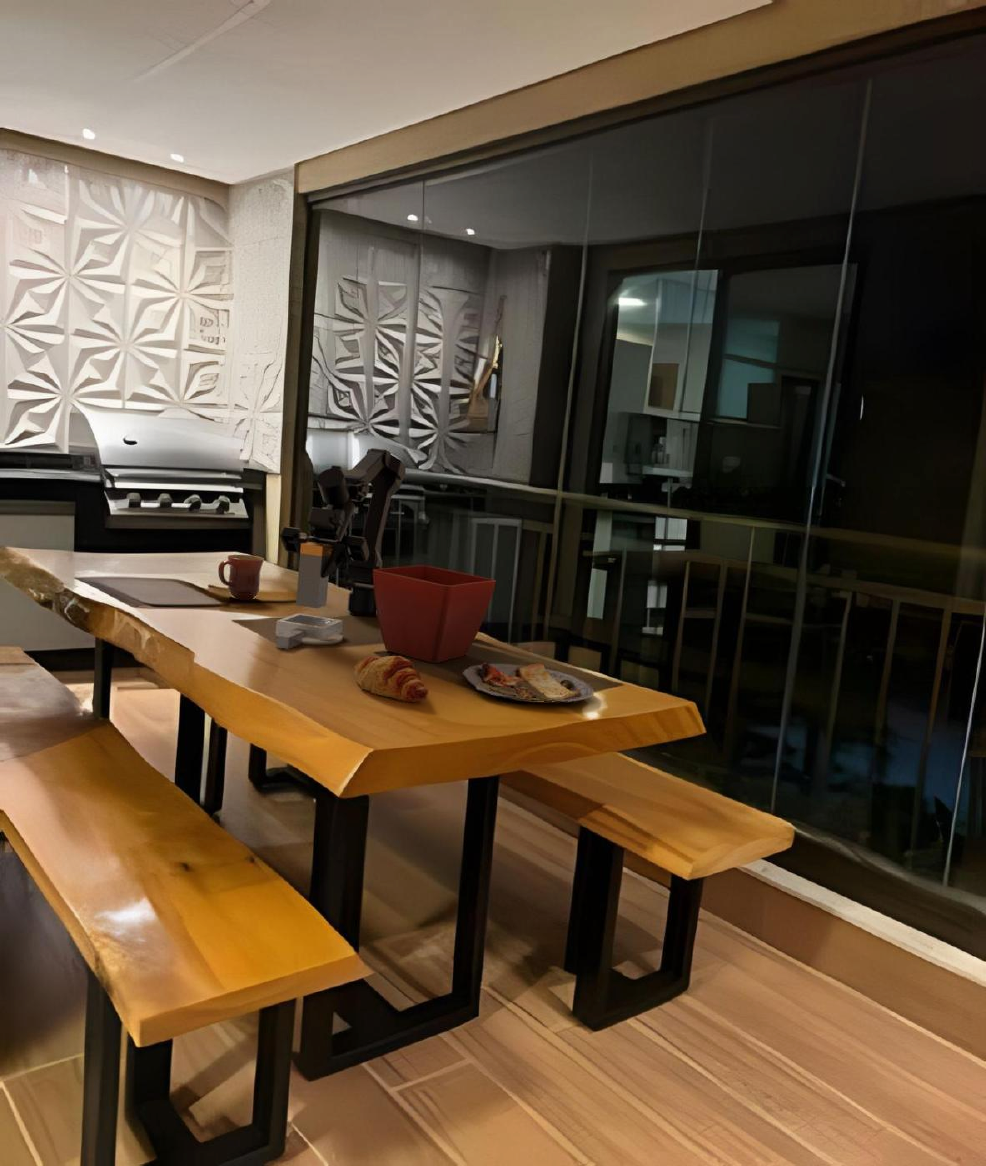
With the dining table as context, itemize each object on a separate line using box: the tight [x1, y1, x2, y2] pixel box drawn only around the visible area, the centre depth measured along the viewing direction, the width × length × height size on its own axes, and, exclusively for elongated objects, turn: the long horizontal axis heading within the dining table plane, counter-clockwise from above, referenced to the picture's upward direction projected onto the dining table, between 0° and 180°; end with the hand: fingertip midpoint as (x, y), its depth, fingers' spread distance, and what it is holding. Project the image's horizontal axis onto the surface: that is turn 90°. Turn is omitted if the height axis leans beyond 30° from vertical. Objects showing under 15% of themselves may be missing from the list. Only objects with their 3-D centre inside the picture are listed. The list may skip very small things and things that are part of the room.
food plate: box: [462, 661, 595, 703], centre depth 182 cm, size 25×23×4 cm
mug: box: [217, 554, 265, 602], centre depth 238 cm, size 12×9×10 cm
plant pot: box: [373, 564, 497, 664], centre depth 202 cm, size 19×19×17 cm
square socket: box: [275, 612, 344, 650], centre depth 202 cm, size 20×14×4 cm
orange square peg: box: [295, 542, 332, 609], centre depth 204 cm, size 5×5×13 cm
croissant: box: [353, 655, 429, 703], centre depth 171 cm, size 21×10×8 cm, turn 41°
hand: (311, 575), depth 203 cm, fingers closed on orange square peg, 5 cm apart
